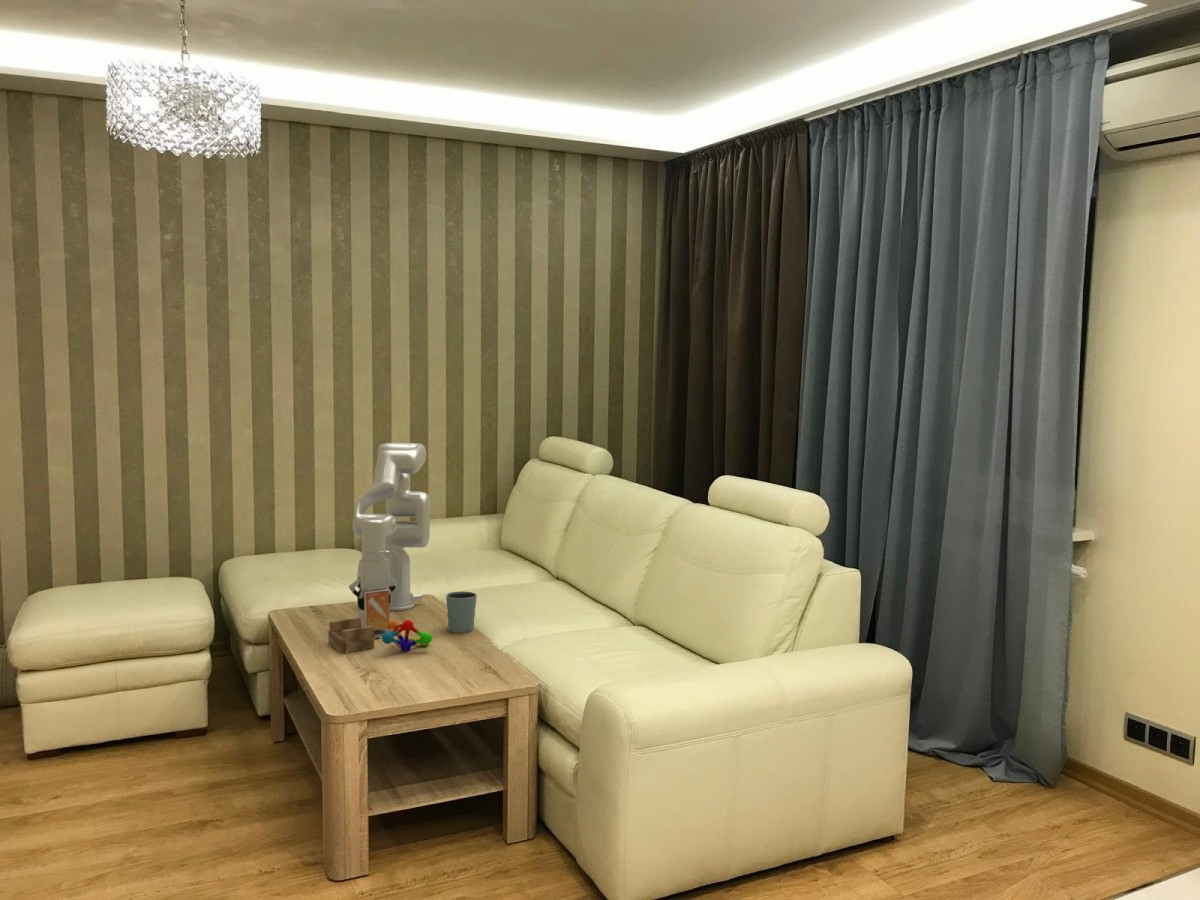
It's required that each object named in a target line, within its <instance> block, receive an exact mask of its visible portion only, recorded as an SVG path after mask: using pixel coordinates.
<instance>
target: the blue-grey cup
mask: <svg viewBox="0 0 1200 900" xmlns="http://www.w3.org/2000/svg"><path fill="white" fill-rule="evenodd" d="M445 597H446V607H447V608H446V609H447V628H448V629H447V630H448V631H449V632H450V631H451V632H450V633H454V632H456V633H455V634H464V632H467V633H470V632H472V631H474V628H475V618H476V617H475V616H476V615H475V614H476V605H477V597H478V595H477V593H475V592H473V591H472V592H471V591H451V592H448V593H446V595H445Z"/></svg>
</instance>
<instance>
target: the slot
mask: <svg viewBox="0 0 1200 900" xmlns="http://www.w3.org/2000/svg"><path fill="white" fill-rule="evenodd" d="M327 633H328V645H330V644H331V645H330V646H332V647H333V646H334V647H335V648H334V647H333V648H334V649H336V650H337V649H338V650H339V651H338V650H337V651H338V652H339V653H341V654H342V653H343V654H347V653H346V652H349V653H353V652H352V651H355V652H359V651H358V650H362V651H364V650H363V649H368V650H370V649H369V648H374V649H375V639H374V626H369V627H362V628H361V618H360V617H354V618H348V619H339V620H334V621H329V631H328V632H327Z"/></svg>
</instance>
